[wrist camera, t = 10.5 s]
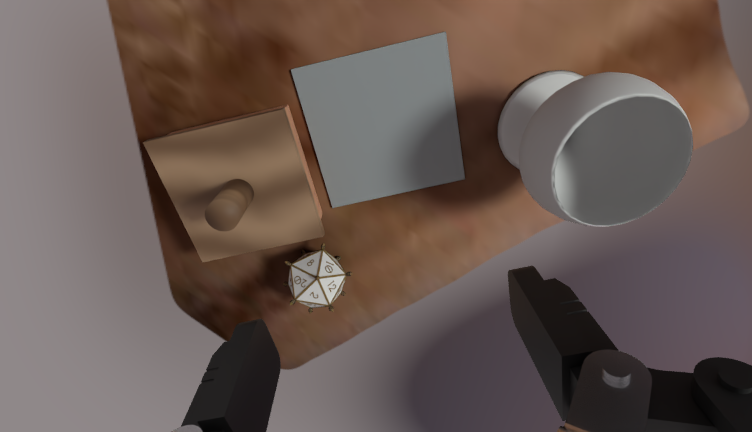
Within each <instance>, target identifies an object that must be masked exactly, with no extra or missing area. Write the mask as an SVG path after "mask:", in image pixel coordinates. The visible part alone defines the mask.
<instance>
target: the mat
mask: <svg viewBox="0 0 752 432" xmlns="http://www.w3.org/2000/svg"><path fill="white" fill-rule="evenodd" d="M291 72H292V76H293V79H294V82H295V86H296V89H297V92H298V95H299V99H300V102H301V105H302V109H303V112H304V115H305V119H306V122H307V125H308V129H309V132H310V135H311V139H312V142H313V145H314V148H315V152H316V155H317V158H318V162H319V165H320V168H321V172H322V175H323V178H324V182H325V185H326V188H327V192H328V195H329V198H330V201H331V205H332V208H334V207H339V206H344V205H348V204H353V203H357V202H362V201H367V200H371V199H376V198H380V197H385V196H390V195H394V194H399V193H403V192H408V191H413V190H417V189H422V188H426V187H431V186H436V185H440V184H445V183H449V182H454V181H459V180H463V179H465V175H464V168H463V160H462V152H461V145H460V137H459V129H458V122H457V114H456V107H455V99H454V91H453V84H452V76H451V68H450V61H449V53H448V45H447V38H446V32H442V33H438V34H434V35H430V36H426V37H422V38H418V39H413V40H409V41H405V42H401V43H397V44H393V45H389V46H385V47H381V48H377V49H373V50H368V51H364V52H360V53H356V54H352V55H348V56H344V57H340V58H336V59H332V60H327V61H323V62H319V63H315V64H311V65H307V66H303V67H299V68H295V69H291Z"/></svg>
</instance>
